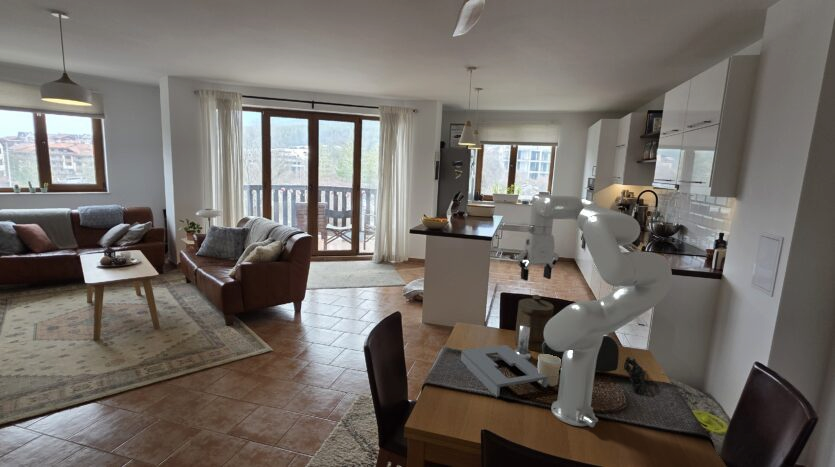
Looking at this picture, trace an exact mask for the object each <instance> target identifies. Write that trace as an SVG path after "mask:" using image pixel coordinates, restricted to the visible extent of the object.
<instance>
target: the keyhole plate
mask: <svg viewBox="0 0 835 467" xmlns="http://www.w3.org/2000/svg"><path fill="white" fill-rule="evenodd" d="M489 356H498V358H500V359H501V360H503V361H504V362H505V363H506V364H508V365H509V366H510V367H513V366H515V367H517V369H519V370H520V371H521V372H523V374H525V375H522V376H514V377H510V378H508V377H507V376H505V374H503V373H502V372H501V371H500V370H499V369H498V368H499V365H498V364H497V363H496V362H495V361H493V360H492V359H491V358H490V357H489ZM460 357H461V358H460V362H461V361H462V362H463V363H464V364H465V365H466V366H467V367H466V366H465V365H464V364H463V363H462V362H461V363H462V364H463V365H464V366H465V367H466V368H467V369H468V371H470V372H471V373H472V374H473V375H474V376H475V377H476V378H477V379H478V380H479V381H480V382H481V384H483V385H484V386H485V388H487V389H488V391H490V392H491V393H492V394H493V393H494V394H495V395H496V396H495V395H494V394H493V395H494V396H495V398H498V397H497V396H499V397H500V392H501V387H508V386H514V385H520V384H526V383H532V382H535V381H539V380H543V382H542V386H544V387H547V388H548V380H549V376H548V375H547V376H545V375H542V374H540V373H538V370H537V367H536V366H535V365H534V364H532V363H531V362H530V361H529V360H526V359H524V358H523V357H522V356H520V355H519V354H518V353H516V352H515V349H514V350H513V349H512V347H509V346H508V345H507V344H502V345H495V346H486V347H478V348H477V347H476V348H471V349H463V350H461V354H460Z"/></svg>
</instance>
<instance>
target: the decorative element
mask: <svg viewBox="0 0 835 467" xmlns="http://www.w3.org/2000/svg"><path fill="white" fill-rule="evenodd" d="M623 369H624V370H625V371H626V372H627V373H628V375H629V381H630V384H631V388H632V390H633V393H635V394H636V395H637V394H638V395H642V396H643V395H644V394H645V392H646V385H647V384H646V383H647V382H646V376H645V375H646V374H645V371H644V370H643V367H642V366H641V365H639V363H638V362H637V361H636V359H635V358H632V359H631V357H629V356H627V357H626V359H625V362H624V363H623ZM632 371H633V372H632ZM639 381H640V382H639ZM637 385H638V386H637Z"/></svg>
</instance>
